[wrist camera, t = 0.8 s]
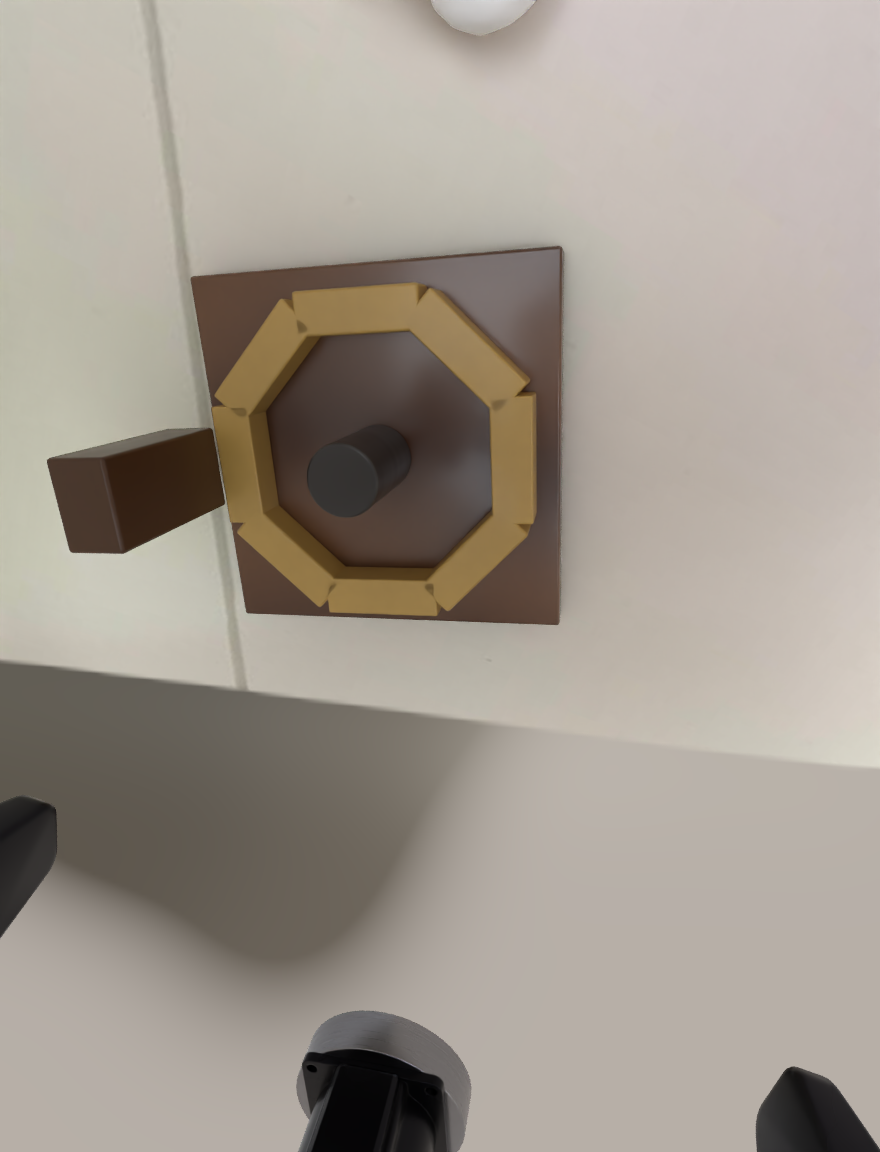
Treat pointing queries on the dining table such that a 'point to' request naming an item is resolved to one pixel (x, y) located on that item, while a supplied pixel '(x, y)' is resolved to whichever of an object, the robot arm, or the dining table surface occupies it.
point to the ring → (192, 477)
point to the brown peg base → (402, 428)
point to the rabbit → (481, 13)
